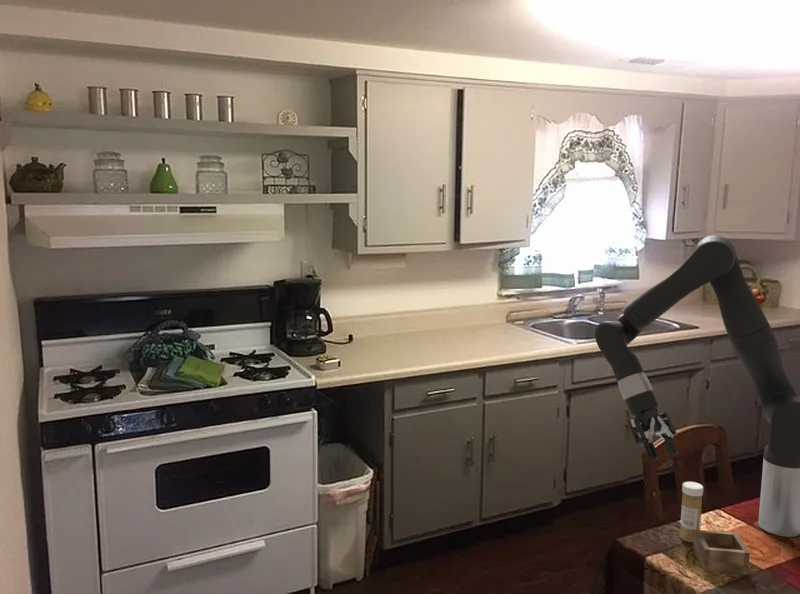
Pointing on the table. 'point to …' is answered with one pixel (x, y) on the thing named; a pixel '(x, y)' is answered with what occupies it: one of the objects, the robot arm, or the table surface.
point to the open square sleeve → (721, 552)
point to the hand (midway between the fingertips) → (664, 456)
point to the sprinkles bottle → (691, 510)
